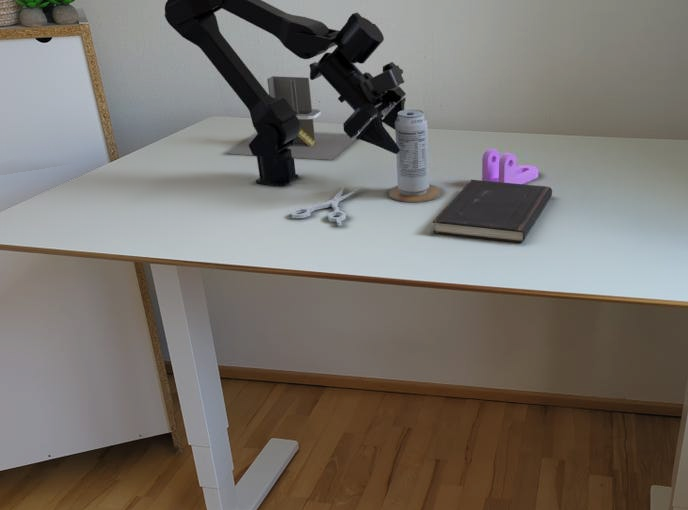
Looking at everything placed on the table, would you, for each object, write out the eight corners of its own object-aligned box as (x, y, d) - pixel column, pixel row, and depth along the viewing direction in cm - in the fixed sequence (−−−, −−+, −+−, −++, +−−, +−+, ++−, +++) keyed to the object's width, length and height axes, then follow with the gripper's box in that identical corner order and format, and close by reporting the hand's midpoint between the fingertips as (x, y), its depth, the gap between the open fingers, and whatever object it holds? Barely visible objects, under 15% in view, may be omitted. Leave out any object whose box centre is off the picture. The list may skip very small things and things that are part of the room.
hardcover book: (433, 233, 136) (432, 220, 135) (471, 190, 155) (471, 179, 154) (523, 243, 132) (524, 230, 131) (551, 198, 151) (552, 186, 150)
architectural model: (331, 159, 173) (325, 90, 166) (225, 153, 178) (214, 85, 170) (360, 135, 190) (355, 71, 182) (262, 130, 194) (254, 67, 187)
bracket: (504, 191, 155) (504, 156, 151) (482, 185, 158) (482, 150, 154) (543, 175, 163) (545, 141, 160) (521, 169, 166) (523, 136, 163)
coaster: (380, 198, 152) (380, 196, 151) (401, 182, 160) (401, 180, 159) (428, 204, 149) (428, 202, 148) (448, 188, 157) (448, 186, 156)
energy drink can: (431, 186, 156) (429, 109, 149) (426, 197, 151) (424, 117, 143) (401, 185, 157) (397, 108, 149) (395, 196, 152) (391, 116, 144)
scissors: (284, 217, 141) (330, 181, 158) (285, 221, 142) (330, 184, 158) (340, 222, 139) (380, 185, 155) (340, 226, 139) (380, 189, 156)
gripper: (354, 59, 135) (418, 130, 138) (393, 41, 150) (449, 105, 153) (316, 104, 141) (378, 170, 144) (357, 82, 156) (412, 142, 159)
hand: (406, 145), depth 150 cm, fingers open, 9 cm apart
